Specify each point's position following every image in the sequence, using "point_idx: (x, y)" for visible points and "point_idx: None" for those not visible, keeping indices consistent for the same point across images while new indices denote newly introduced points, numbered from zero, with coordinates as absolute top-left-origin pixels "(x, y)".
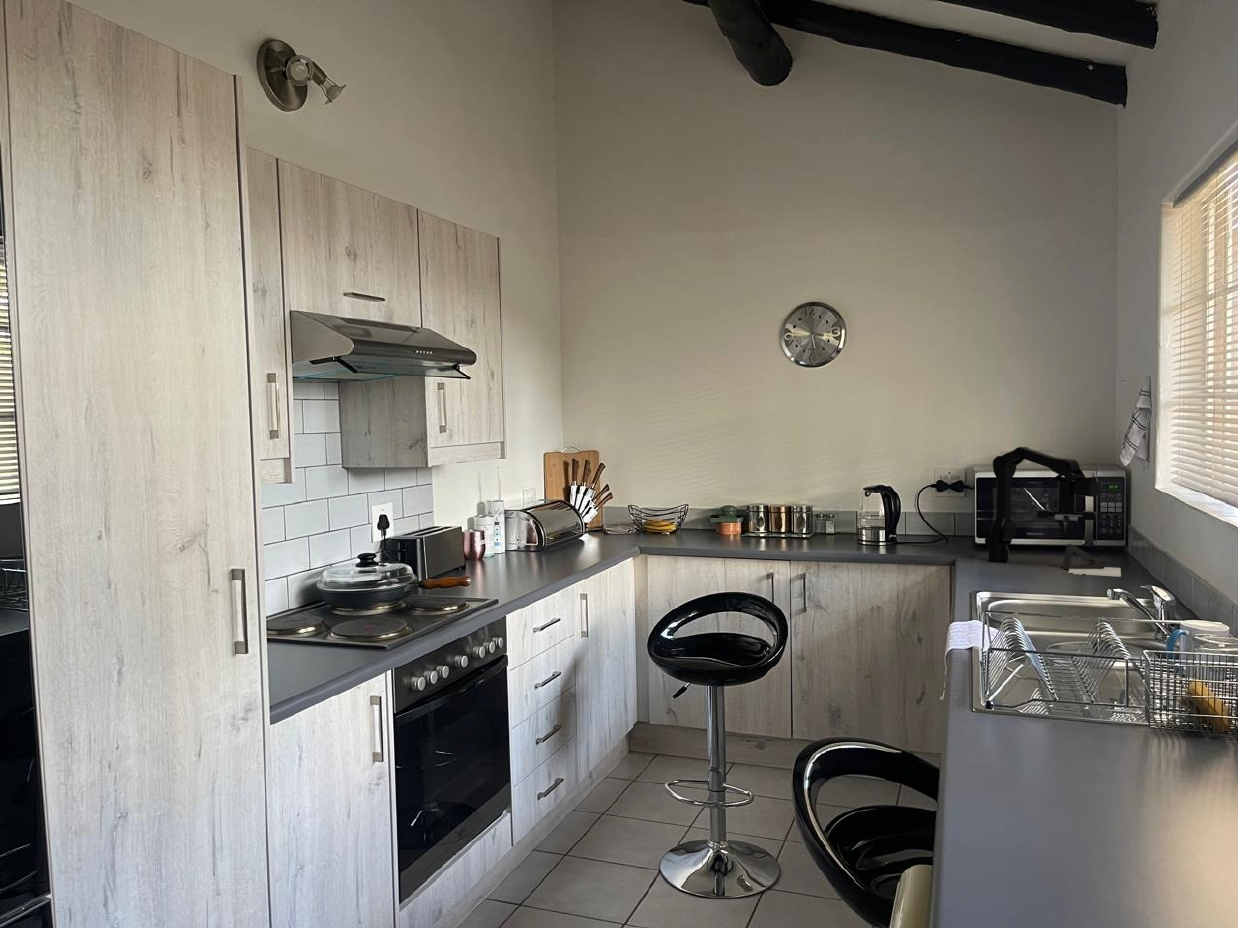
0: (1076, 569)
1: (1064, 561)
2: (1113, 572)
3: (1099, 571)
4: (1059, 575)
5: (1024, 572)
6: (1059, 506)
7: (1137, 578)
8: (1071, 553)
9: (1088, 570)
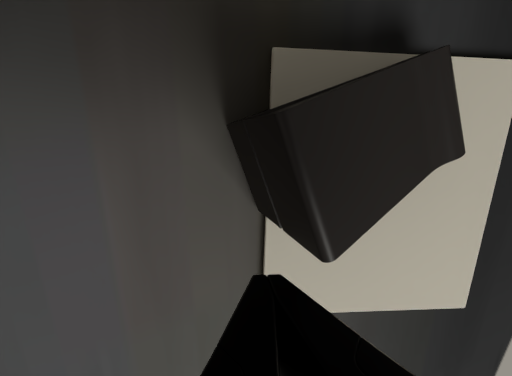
0: None
1: (242, 143)
2: (451, 248)
3: (397, 242)
4: None
5: (74, 351)
6: None
7: (508, 319)
8: (292, 237)
9: None
